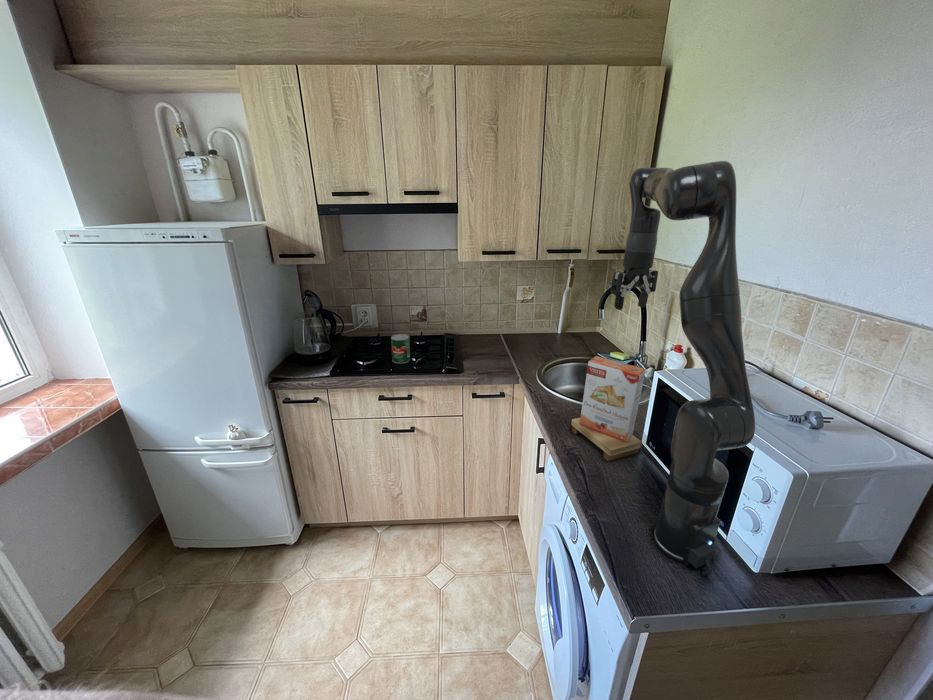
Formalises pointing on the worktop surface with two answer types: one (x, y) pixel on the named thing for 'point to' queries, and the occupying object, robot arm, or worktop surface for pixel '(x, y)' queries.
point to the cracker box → (611, 397)
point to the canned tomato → (400, 348)
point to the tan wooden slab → (608, 442)
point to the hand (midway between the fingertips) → (630, 308)
